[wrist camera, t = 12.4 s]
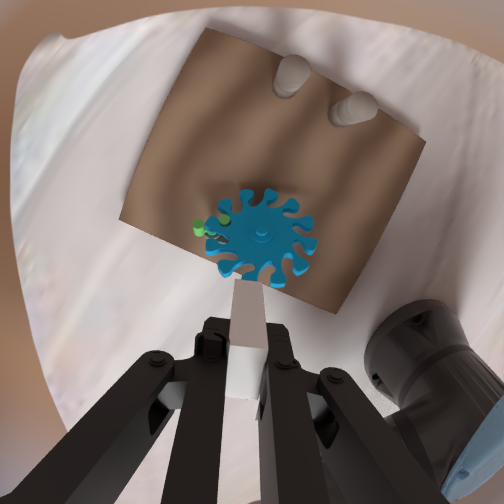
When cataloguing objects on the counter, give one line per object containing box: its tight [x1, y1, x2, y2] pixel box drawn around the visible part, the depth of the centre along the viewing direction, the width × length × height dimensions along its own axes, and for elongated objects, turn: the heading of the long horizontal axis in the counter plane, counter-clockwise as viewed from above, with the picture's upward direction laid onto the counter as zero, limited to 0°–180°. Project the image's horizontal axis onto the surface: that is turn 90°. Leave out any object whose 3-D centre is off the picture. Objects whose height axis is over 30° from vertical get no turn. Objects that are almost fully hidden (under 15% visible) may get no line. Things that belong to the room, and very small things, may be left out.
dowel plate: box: [119, 28, 426, 314], centre depth 27 cm, size 26×22×9 cm
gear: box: [192, 188, 318, 288], centre depth 29 cm, size 11×6×10 cm
